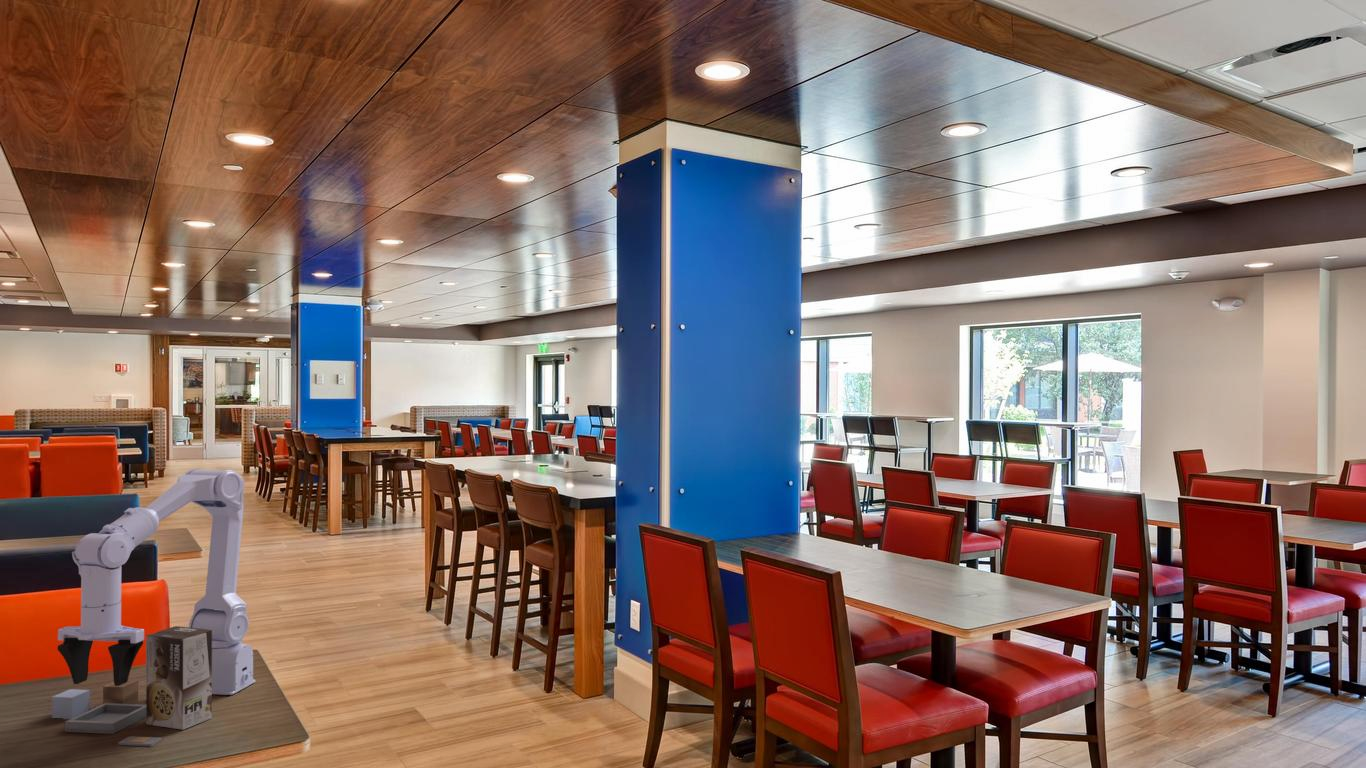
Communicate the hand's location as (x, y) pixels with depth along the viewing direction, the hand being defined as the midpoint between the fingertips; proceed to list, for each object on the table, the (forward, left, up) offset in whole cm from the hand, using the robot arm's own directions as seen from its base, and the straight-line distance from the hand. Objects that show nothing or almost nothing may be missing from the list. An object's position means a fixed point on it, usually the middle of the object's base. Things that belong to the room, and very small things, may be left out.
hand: (100, 683), depth 146 cm
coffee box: (-8, -8, -10) cm, 15 cm away
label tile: (-8, +1, -9) cm, 13 cm away
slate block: (+14, -9, -10) cm, 19 cm away
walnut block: (+9, -15, -10) cm, 20 cm away
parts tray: (+4, -6, -9) cm, 12 cm away
